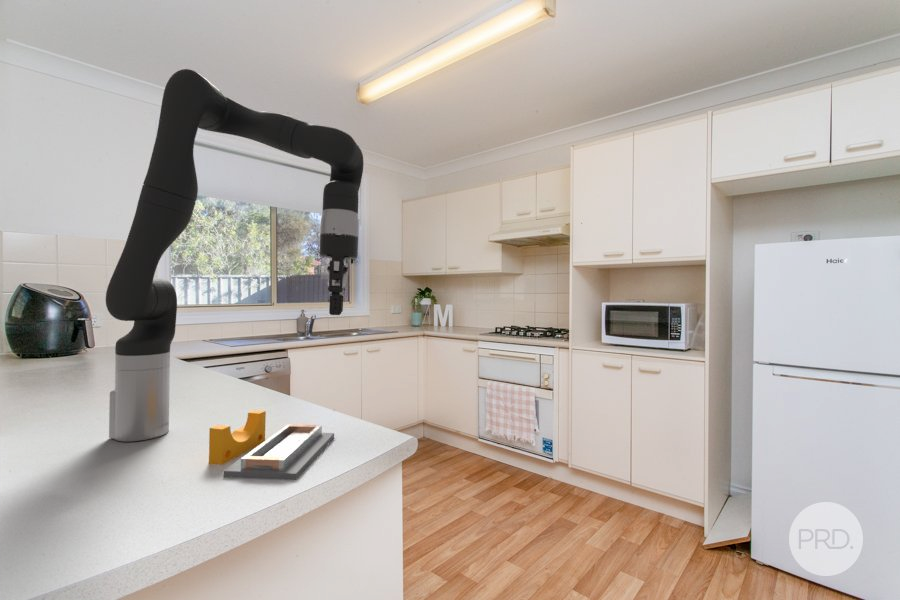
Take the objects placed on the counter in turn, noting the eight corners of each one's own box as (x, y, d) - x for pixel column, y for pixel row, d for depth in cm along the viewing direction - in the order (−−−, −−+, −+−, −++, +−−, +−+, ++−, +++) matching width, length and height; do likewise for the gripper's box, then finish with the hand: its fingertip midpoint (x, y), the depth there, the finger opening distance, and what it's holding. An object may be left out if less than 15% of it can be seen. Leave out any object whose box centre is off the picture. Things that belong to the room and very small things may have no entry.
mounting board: (223, 477, 68) (223, 470, 68) (278, 435, 88) (278, 431, 88) (295, 479, 67) (295, 473, 67) (334, 437, 87) (334, 433, 87)
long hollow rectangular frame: (240, 469, 68) (240, 458, 68) (287, 432, 87) (287, 424, 87) (283, 470, 68) (283, 460, 68) (321, 433, 86) (321, 425, 86)
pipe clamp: (246, 440, 85) (246, 409, 85) (264, 442, 84) (265, 411, 84) (200, 463, 73) (201, 427, 73) (221, 466, 72) (222, 429, 72)
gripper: (323, 237, 90) (320, 311, 90) (316, 227, 76) (313, 315, 77) (358, 240, 92) (355, 312, 92) (358, 230, 78) (354, 316, 78)
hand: (336, 313), depth 84 cm, fingers open, 8 cm apart
